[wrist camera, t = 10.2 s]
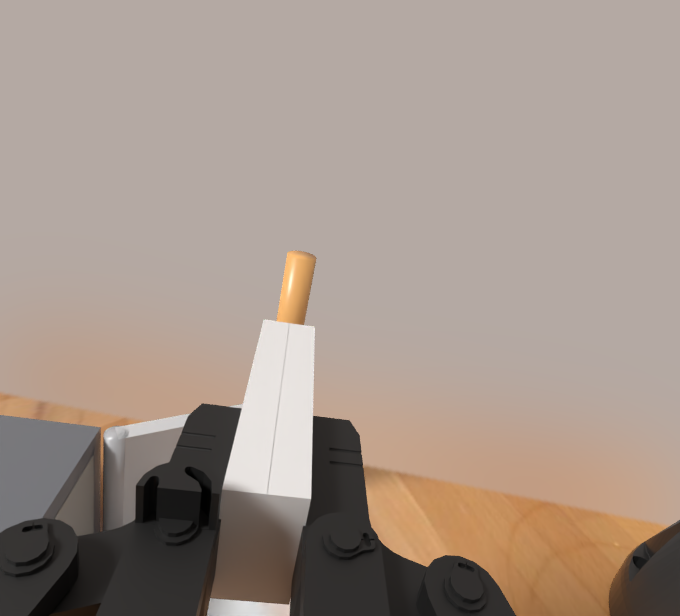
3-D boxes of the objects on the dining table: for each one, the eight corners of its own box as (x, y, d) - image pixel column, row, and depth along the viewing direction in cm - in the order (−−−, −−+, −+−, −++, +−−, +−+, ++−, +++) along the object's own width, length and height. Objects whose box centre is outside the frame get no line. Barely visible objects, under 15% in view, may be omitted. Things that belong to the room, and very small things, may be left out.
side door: (100, 528, 28) (102, 249, 21) (266, 481, 34) (307, 250, 27) (105, 550, 27) (108, 262, 20) (276, 497, 33) (321, 260, 26)
